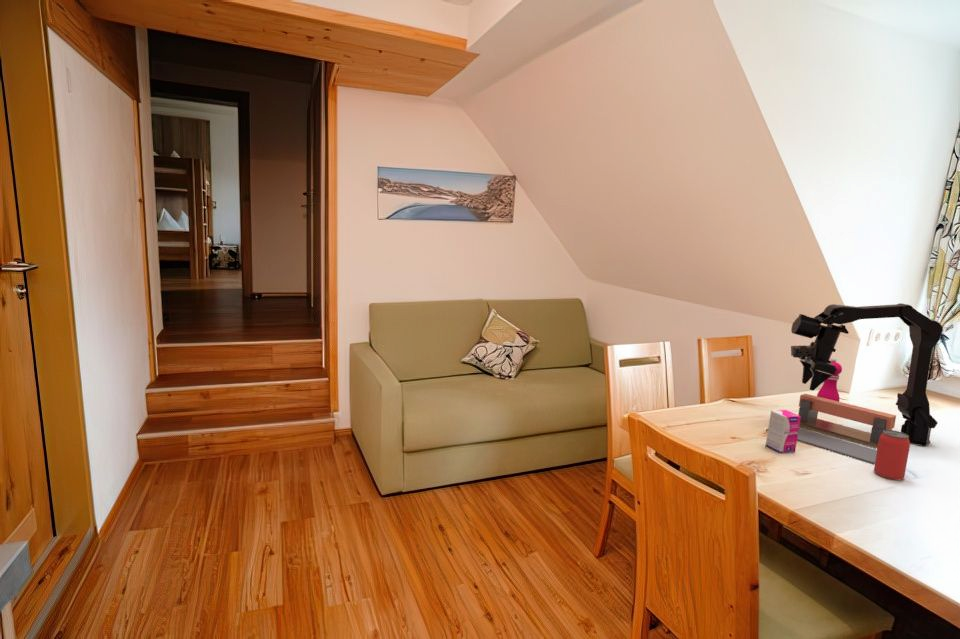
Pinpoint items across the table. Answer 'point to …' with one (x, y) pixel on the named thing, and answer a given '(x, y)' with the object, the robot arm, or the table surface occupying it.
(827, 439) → the slate mat
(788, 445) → the supplement box
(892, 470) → the beer can
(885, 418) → the rail
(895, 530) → the table surface
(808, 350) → the robot arm
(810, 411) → the rail rack
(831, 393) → the pepper mill
